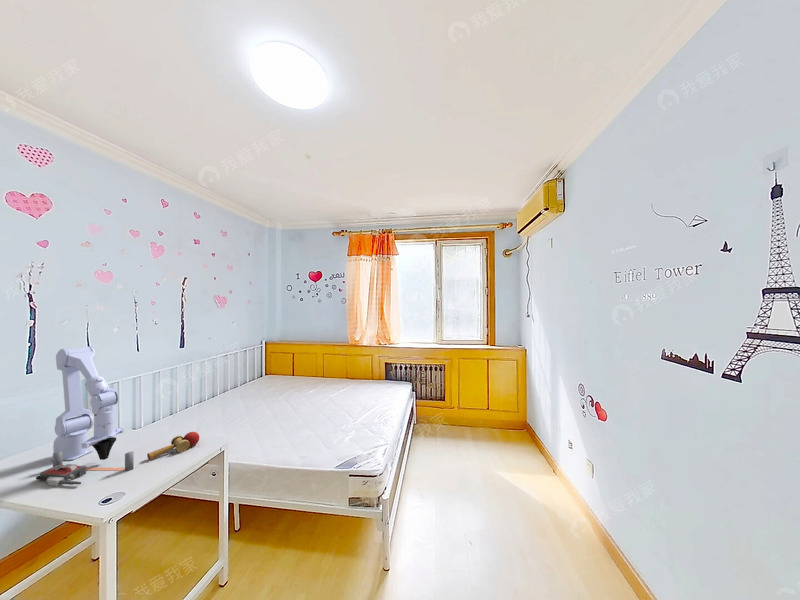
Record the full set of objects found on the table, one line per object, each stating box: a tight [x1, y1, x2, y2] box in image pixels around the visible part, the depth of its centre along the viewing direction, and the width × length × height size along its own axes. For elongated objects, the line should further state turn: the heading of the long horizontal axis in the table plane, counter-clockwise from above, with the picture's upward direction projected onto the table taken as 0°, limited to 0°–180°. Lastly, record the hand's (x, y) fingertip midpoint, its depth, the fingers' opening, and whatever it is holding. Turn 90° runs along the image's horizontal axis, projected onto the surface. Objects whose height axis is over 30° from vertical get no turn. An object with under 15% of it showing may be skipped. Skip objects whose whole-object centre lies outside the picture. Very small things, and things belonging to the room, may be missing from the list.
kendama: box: [146, 431, 200, 461], centre depth 128 cm, size 8×6×18 cm
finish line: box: [52, 451, 135, 472], centre depth 115 cm, size 30×2×6 cm, turn 87°
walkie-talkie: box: [35, 463, 87, 487], centre depth 108 cm, size 9×4×20 cm
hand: (103, 458), depth 119 cm, fingers closed
